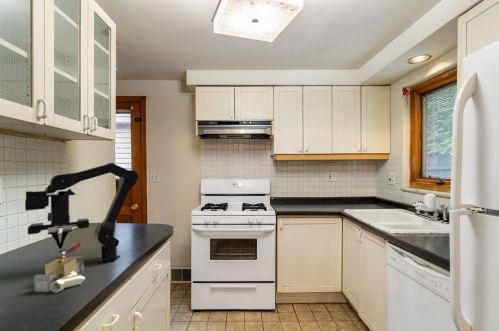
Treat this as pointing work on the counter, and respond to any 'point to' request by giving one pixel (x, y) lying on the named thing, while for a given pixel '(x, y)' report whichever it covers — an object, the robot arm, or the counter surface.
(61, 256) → the lever
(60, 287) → the pipe fitting
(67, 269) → the valve
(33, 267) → the counter surface
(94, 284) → the counter surface
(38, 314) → the counter surface
